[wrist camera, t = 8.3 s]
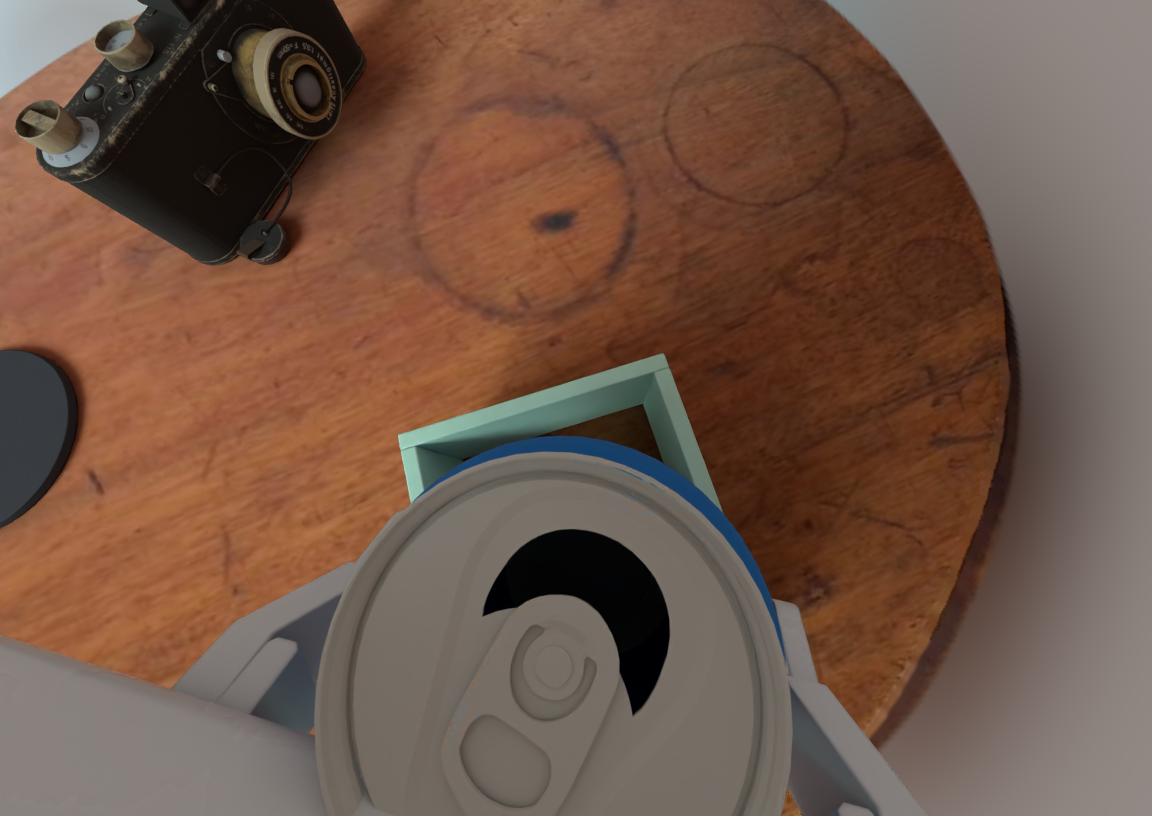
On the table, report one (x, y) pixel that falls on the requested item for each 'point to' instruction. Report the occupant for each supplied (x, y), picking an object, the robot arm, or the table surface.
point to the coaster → (32, 429)
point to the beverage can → (556, 649)
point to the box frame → (562, 423)
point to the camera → (202, 118)
